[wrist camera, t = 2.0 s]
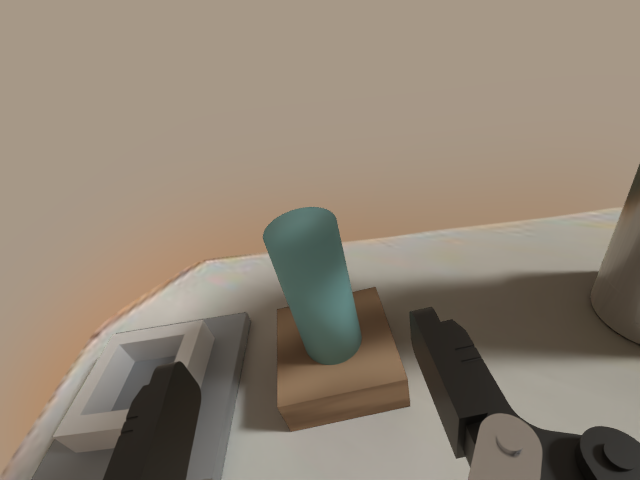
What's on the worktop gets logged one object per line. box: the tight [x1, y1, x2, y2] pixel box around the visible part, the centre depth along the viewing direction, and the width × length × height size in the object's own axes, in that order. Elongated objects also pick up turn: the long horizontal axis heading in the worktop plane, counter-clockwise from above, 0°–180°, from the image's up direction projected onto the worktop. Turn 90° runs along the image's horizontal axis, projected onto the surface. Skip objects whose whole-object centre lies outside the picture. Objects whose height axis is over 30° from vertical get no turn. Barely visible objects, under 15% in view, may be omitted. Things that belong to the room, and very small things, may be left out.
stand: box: [277, 287, 410, 432], centre depth 30 cm, size 10×10×4 cm
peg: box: [263, 207, 362, 365], centre depth 26 cm, size 5×5×12 cm
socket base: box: [31, 312, 251, 480], centre depth 32 cm, size 16×16×4 cm
